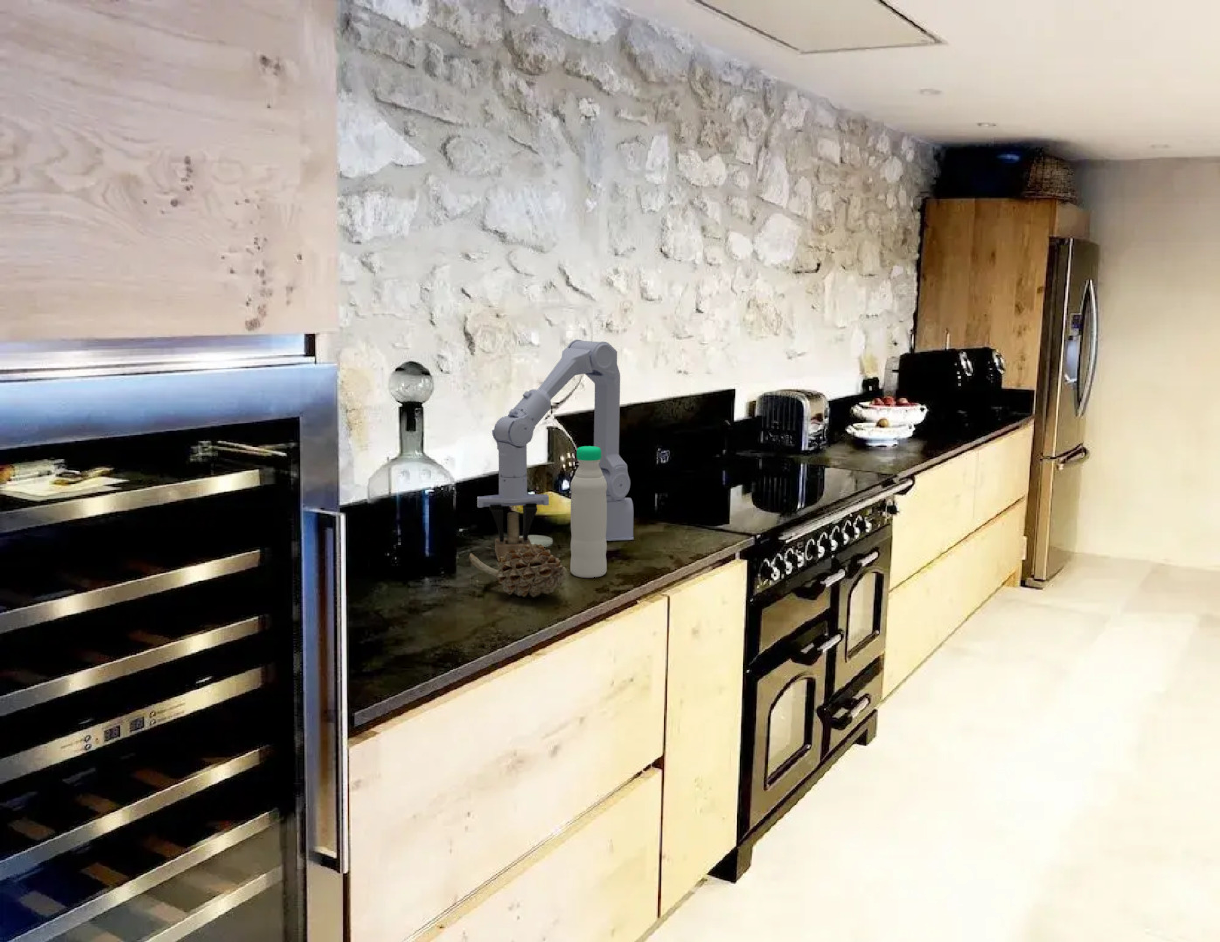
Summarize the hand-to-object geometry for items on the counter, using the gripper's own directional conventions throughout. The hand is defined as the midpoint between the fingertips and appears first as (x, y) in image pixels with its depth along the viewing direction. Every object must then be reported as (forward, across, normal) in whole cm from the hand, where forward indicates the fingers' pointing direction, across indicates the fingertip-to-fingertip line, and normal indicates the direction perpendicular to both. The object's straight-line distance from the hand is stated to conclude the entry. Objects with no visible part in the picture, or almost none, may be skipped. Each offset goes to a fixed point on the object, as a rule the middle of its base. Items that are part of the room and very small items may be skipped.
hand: (513, 540), depth 224 cm
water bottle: (+4, -13, +16) cm, 21 cm away
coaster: (+3, -5, -10) cm, 12 cm away
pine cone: (+4, +3, +27) cm, 27 cm away
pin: (+3, 0, 0) cm, 3 cm away
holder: (+3, 0, 0) cm, 3 cm away
